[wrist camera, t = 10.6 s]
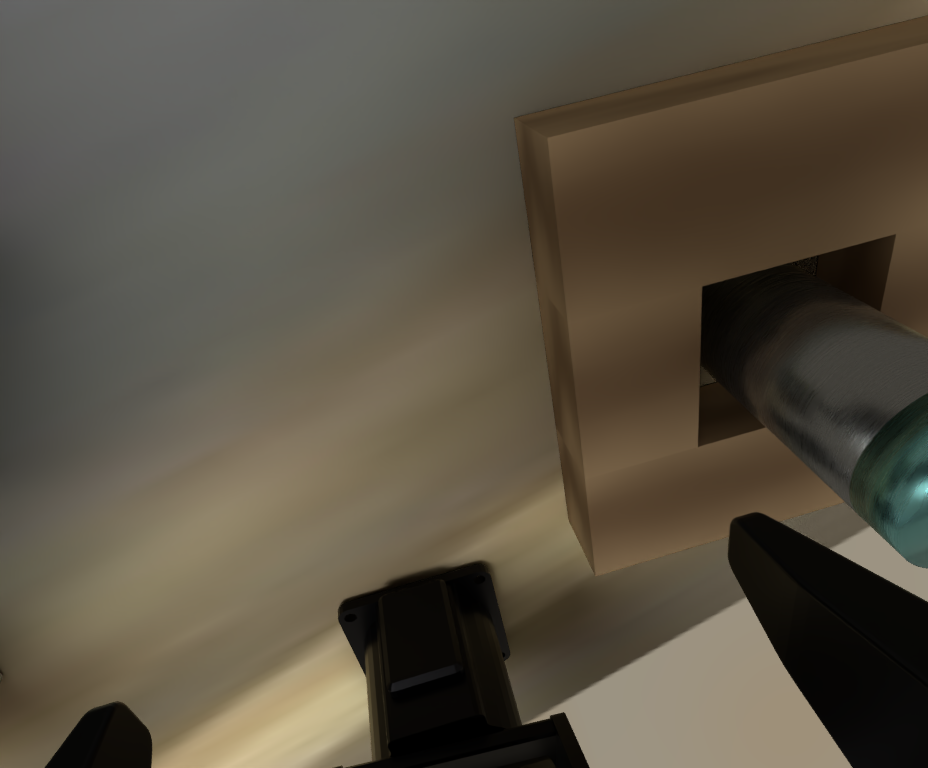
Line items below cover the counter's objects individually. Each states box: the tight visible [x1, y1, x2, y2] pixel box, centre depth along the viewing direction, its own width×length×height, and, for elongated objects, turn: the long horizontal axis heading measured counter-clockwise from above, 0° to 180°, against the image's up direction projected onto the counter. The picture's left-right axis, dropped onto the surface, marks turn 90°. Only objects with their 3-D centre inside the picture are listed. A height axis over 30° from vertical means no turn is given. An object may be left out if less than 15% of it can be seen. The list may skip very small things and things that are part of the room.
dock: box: [514, 16, 928, 576], centre depth 21 cm, size 16×14×3 cm
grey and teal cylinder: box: [700, 262, 928, 568], centre depth 18 cm, size 4×4×10 cm
